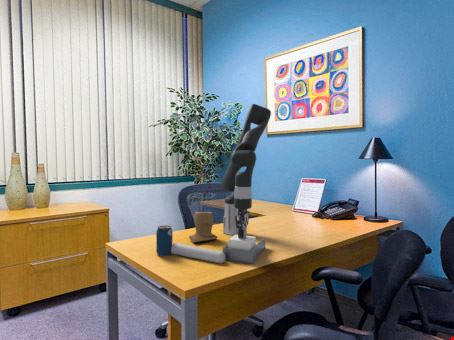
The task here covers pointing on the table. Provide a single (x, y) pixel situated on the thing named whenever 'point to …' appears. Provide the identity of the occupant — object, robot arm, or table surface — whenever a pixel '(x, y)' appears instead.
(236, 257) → the bay
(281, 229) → the table surface
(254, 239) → the white knobbed block
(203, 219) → the stone cup
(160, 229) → the soda can
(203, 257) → the tube
